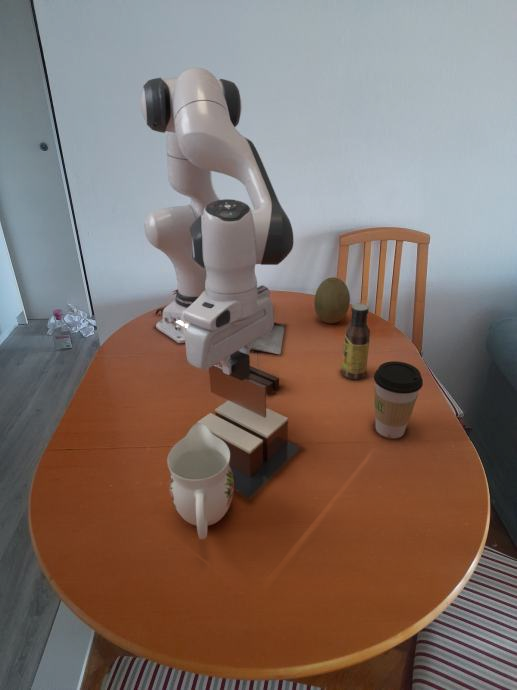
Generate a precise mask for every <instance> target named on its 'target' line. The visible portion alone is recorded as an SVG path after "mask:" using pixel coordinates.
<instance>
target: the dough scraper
mask: <svg viewBox="0 0 517 690" xmlns="http://www.w3.org/2000/svg"><path fill="white" fill-rule="evenodd" d="M250 358H251V357H250V354H248V355H247V354H245V353H242V352H240V351H239V350H238V351H236V352H235V353H233V354H231V355H230V359H229V360H228V361H229V362H230V363H233V364H234V369H235V371H234V372H233V373H231V374H230V375H227V374H225V373H223V371H222V367H221V365H218V364H215V365H213V366H212V367H210V368H208V373H209V375H208V376H209V384H210V385H209V387H210V392H211V393H212V394H214V395H216V396H219V397H221V398H222V399H224V400H226V401H227V400H229V401H231V402H233V403H235V404H237V405H239V406H241V407H243V408H245V409H247V410H249V411H251V412H254V413H256V414H258V415H260V416H262V417H264V418H265V417H266V408H267V394H266V386H265V385H262V384H260V383H258V382H256V381H253V380H251V379H249V378H247V377H248V376H250V366H251V364H250V363H251V361H250V360H251V359H250Z"/></svg>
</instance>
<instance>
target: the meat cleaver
mask: <svg viewBox="0 0 517 690" xmlns="http://www.w3.org/2000/svg"><path fill="white" fill-rule="evenodd" d="M285 329H286V325H285V324H281V323H278V322H274V325H273V328H272V330H271V331H269V332H267V333H266V334H264V335H263V336H261V337H259V338H258V339H256V340H254V341H253V342H252V346H251V349H250V350H253V351H260V352H264V353H270V354H274V355H281V352H282V347H283V339H284V334H285Z"/></svg>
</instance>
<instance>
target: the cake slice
mask: <svg viewBox="0 0 517 690" xmlns="http://www.w3.org/2000/svg"><path fill="white" fill-rule="evenodd" d="M196 423H203V424H205V425H206V426H207V427H208V428H209V430H210V431H211V433H212V434H213V435H215V436H216V437H218V438H220V439H221V440H223V441H224V442H225V443H226V445H227V446H228V448H229V450H230V462H229V465H231V466H232V467H234V468H236V469H238V470H239V471H241V472H243V473H244V474H246V475H248V476H249V477H251V476H252V475H253V474H255V473H256V472H257V471H258V470H259V469H260V468H261V467H262V466H263V440H262V439H260V438H258V437H256V436H254V435H252V434H250V433H248V432H246V431H244V430H242V429H240V428H239V427H237V426H235V425H233V424H231V423H229V422H227V421H225V420H223V419H221V418H219V417H217V416H216V415H215V413H214V414H213V413H212V412H209V413H208V414H206V415H205V416H203V417H201V419H199V420H198V421H196Z"/></svg>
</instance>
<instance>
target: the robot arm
mask: <svg viewBox="0 0 517 690" xmlns="http://www.w3.org/2000/svg"><path fill="white" fill-rule="evenodd" d="M139 102H140V110H141V114H142V116H143V118H144V121H145V122H146V126H148V128H149V129H151V131H154V132H158V133H163V134H165V133H166V161H167V162H166V164H167V175H168V176H167V178H168V183H169V185H170V186H171V188H172V189H173V190H174V191H175V192H177V193H179V194H180V195H183V196H186V197H188V198H189V199H190V203H189V204H186V205H185V204H184V205H177V206H176V205H175V206H168V207H163V208H159V209H157V210H153V211H150V212H149V213H148V215H147V216H146V218H145V220H144V225H143V226H144V227H143V229H144V234H145V237H146V239H147V241H148V242H149V244H150V245H152V247H154V248H155V249H157V250H159V251H160V252H162V253H163V254H165V255H166V257H168V259H169V261H170V262H171V263H172V265H173V269H174V273H175V277H176V284H177V288H176V290H173V291H172V295H173V296H174V295H175V298H174V300H173V301H172V302H170V303H169V304H168V305H166V306H164V307H160V308H157V310H156V311H155V313H154V314H155V315H158V313H160V314H161V317H162V318H161V319H160V320H159V321H158V322H156V324H155V328H156V329H157V330H158V331H160V332H162V333H163V334H164V335H166V336H167V337H169V338H170V339H172V340H173V341H175V343H177V344H185V354H186V355H185V356H186V360H187V363H188V364H190V365H191V366H192V367H193V368H196V369H198V370H201V371H207V370H209V368H210V367H212V366H213V365H215V364H216V365H218V363H220V365H221V364H222V371H223V373H225V374H227V375H230V374H231V373H233V372H234V371H235V369H234V364H233V363H230V362H229V361H228V360H229V359H230V355H231V354H233V353H235V352H236V351H240V352H242V353H245V354H247V355H250V351H251V350H252V349H251V346H252V342H253V341H254V340H256V339H258V338H259V337H261V336H263V335H264V334H266V333H267V332H269V331H271V330H272V328H273V325H274V323H275V314H274V305H273V301H272V298H271V292H270V291H271V290H270V289H269V288H268V287H267V286H265V285H263V284H261V285H259V286H258V279H257V276H256V270H255V269H256V265H260V266H278V265H279V264H280V263H282V262H283V261H284V260H285V259H286V258H287V257H288V256H289V255H290V254H291V252H292V250H293V248H294V232H293V226H292V223H291V220H290V218H289V217H288V215H287V213H286V211H285V210H284V208H283V207H282V205H281V203H280V201H279V198H278V196H277V193H276V192H275V189H274V187H273V184H272V181H271V179H270V177H269V175H268V172H267V170H266V168H265V165H264V162H263V160H262V158H261V156H260V154H259V152H258V149H257V148H256V146H255V144H254V143H253V141H252V140H250V139H249V138H247V137H245V136H244V135H243V134H241V133H240V131H239V130H238V129H237V128H236V127H237V126H238V125H239V123H240V119H241V117H242V109H243V102H242V97H241V93H240V90H239V88H238V86H237V85H236V83H235V82H233V81H231V80H228V79H224V78H219V79H217V77H216V76H215V75H214V74H213V73H212V72H211V71H209V70H208V69H205V68H202V67H190V68H188V69H186V70H184V71H183V72H181V73H180V74H179V75H178V77H170V78H163V79H162V78H161V77H156V78H152V79H148V80H147V81H146V82H145V83H144V84H143V89H142V91H141V94H140V101H139ZM212 172H215V173H218V174H222V175H225V176H229V177H231V178H234V179H235V180H238V181H239V182H240V183H242V184H243V186H244V187H245V190H246V192H247V194H248V198H249V200H250V202H251V204H252V207H253V209H254V210H252V208H251V207H250V206H249V205H248V204H247V203H245V202H243V201H241V200H237V199H231V198H230V199H229V198H226V199H225V198H224V199H220V197H219V196H218V195H217V193H216V191H215V188H214V184H213V175H212Z"/></svg>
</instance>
